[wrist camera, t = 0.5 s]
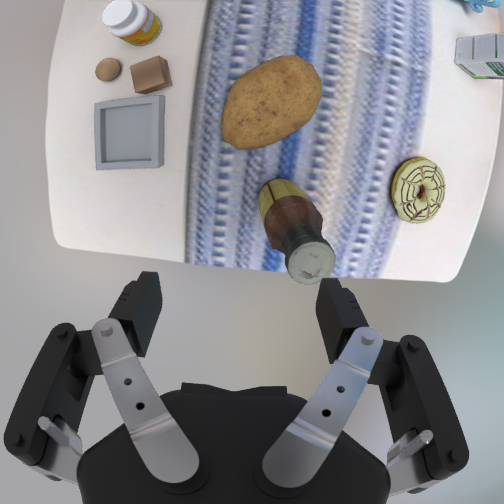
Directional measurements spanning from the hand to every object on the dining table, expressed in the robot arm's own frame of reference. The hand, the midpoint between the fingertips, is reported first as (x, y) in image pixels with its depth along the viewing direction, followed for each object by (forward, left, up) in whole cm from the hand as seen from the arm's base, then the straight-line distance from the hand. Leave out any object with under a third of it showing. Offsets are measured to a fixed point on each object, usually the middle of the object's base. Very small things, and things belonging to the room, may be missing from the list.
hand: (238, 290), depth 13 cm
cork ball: (-16, -20, -26) cm, 36 cm away
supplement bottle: (-22, -16, -28) cm, 38 cm away
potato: (-10, +2, -28) cm, 29 cm away
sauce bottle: (+3, +5, -28) cm, 28 cm away
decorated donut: (-1, +27, -28) cm, 39 cm away
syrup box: (-28, +36, -28) cm, 53 cm away
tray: (-6, -17, -27) cm, 33 cm away
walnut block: (-14, -13, -28) cm, 33 cm away
